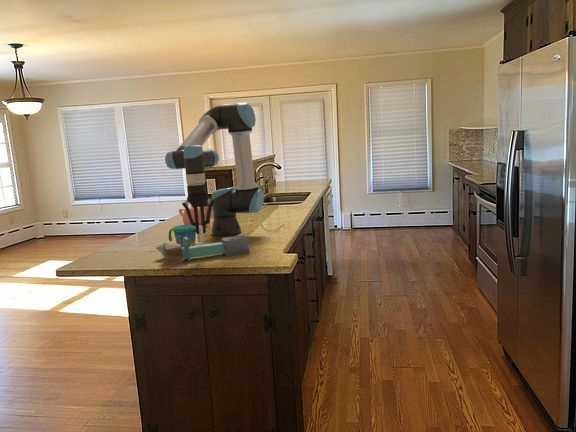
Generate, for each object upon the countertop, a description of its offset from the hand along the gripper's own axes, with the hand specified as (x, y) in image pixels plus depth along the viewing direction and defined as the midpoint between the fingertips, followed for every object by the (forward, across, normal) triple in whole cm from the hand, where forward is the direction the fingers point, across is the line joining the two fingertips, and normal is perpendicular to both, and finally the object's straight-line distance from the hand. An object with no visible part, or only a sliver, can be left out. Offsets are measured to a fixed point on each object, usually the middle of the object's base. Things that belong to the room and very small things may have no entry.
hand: (201, 241), depth 189 cm
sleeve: (+7, +14, 0) cm, 15 cm away
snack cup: (+7, -4, +22) cm, 23 cm away
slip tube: (+7, 0, 0) cm, 7 cm away
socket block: (+7, -12, 0) cm, 14 cm away
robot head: (+7, -14, +9) cm, 18 cm away
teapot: (+7, +10, +81) cm, 82 cm away
